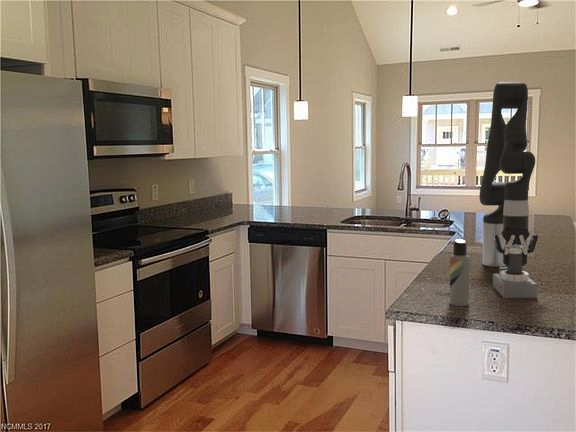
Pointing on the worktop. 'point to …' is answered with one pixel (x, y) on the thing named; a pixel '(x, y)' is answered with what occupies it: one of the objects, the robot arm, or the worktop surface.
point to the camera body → (514, 285)
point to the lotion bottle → (459, 274)
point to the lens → (515, 263)
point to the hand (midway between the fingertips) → (514, 265)
